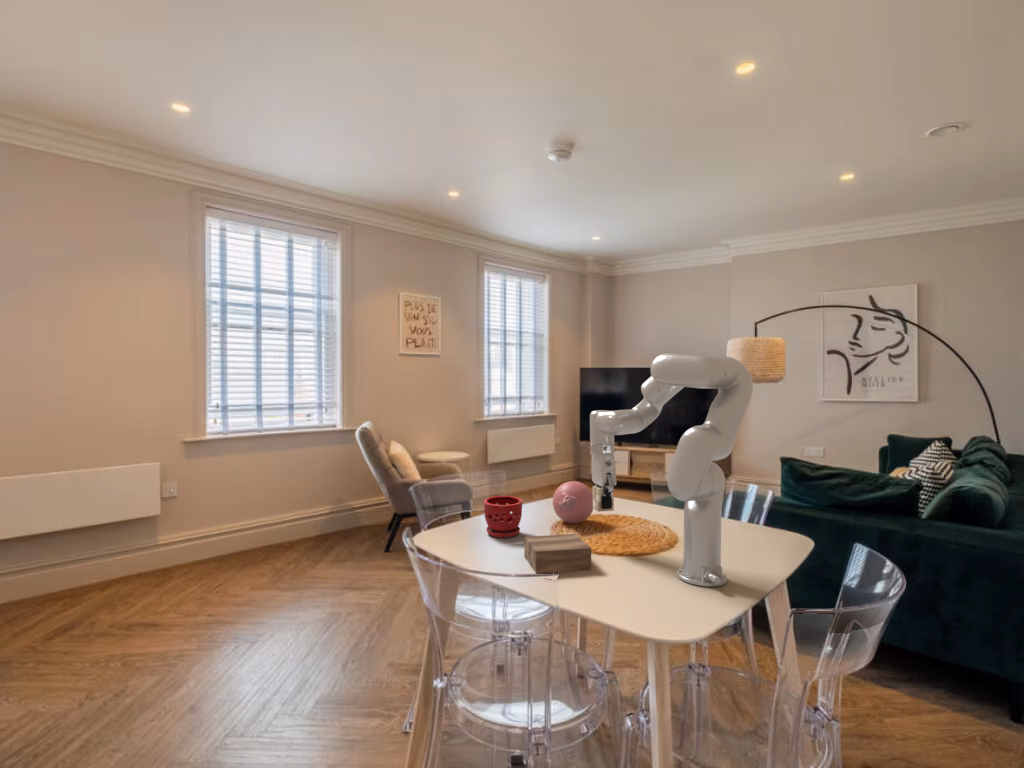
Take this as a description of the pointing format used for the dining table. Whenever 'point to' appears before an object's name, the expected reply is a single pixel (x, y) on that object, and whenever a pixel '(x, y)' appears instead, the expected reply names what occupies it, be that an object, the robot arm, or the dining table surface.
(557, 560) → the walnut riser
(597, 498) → the birch block
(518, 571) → the dining table surface
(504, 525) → the plant pot
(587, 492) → the balloon
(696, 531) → the robot arm
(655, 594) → the dining table surface
